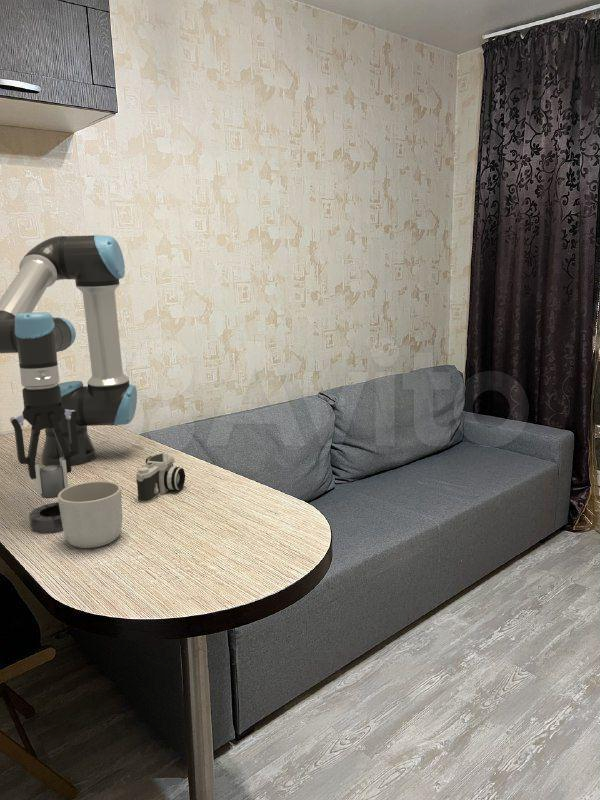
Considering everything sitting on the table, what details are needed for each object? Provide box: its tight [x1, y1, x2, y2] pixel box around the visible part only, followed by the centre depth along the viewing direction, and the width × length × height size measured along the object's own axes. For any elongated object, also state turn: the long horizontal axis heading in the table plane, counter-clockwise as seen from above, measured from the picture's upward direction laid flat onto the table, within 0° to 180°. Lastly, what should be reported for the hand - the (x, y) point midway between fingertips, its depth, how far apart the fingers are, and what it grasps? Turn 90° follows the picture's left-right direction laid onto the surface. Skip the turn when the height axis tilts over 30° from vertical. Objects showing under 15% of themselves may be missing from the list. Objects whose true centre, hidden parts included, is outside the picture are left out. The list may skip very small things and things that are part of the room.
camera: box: [135, 452, 186, 503], centre depth 156 cm, size 16×9×10 cm, turn 167°
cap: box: [39, 465, 65, 500], centre depth 136 cm, size 5×5×6 cm
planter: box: [57, 480, 123, 549], centre depth 129 cm, size 12×12×11 cm
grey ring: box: [28, 501, 64, 535], centre depth 139 cm, size 10×10×3 cm
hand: (52, 489), depth 137 cm, fingers closed on cap, 5 cm apart
